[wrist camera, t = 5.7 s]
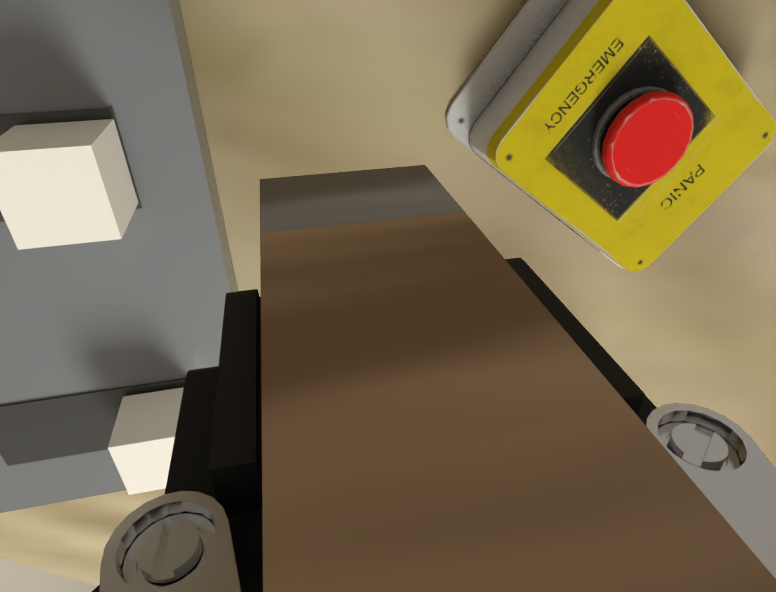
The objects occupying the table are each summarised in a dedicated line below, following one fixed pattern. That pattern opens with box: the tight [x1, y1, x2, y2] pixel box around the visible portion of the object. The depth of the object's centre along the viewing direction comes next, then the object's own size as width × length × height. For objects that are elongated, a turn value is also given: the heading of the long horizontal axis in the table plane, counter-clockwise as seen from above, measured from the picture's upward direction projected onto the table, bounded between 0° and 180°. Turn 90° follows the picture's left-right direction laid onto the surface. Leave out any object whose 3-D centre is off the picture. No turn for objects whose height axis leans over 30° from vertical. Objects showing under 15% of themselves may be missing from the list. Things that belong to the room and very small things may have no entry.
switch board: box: [0, 0, 238, 513], centre depth 22 cm, size 22×16×3 cm
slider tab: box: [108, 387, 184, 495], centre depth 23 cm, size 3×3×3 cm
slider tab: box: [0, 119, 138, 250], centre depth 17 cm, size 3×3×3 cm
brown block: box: [260, 165, 776, 592], centre depth 9 cm, size 4×4×12 cm
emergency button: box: [446, 0, 776, 272], centre depth 23 cm, size 9×4×15 cm
